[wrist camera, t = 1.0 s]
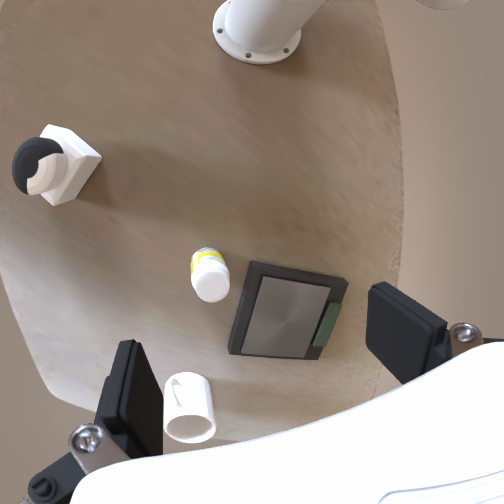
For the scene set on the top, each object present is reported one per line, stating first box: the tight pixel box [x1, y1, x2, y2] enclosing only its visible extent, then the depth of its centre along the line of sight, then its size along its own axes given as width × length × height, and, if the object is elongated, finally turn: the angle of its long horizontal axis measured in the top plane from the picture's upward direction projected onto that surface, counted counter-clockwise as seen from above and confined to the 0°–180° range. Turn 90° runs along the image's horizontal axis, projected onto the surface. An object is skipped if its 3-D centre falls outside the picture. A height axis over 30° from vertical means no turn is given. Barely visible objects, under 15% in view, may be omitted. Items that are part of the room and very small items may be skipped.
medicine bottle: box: [12, 125, 102, 206], centre depth 27 cm, size 7×7×12 cm
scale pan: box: [240, 275, 331, 358], centre depth 43 cm, size 13×11×1 cm
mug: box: [164, 372, 217, 443], centre depth 41 cm, size 8×12×10 cm, turn 15°
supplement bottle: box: [190, 248, 230, 302], centre depth 37 cm, size 5×5×8 cm
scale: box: [228, 261, 349, 360], centre depth 44 cm, size 15×16×3 cm
